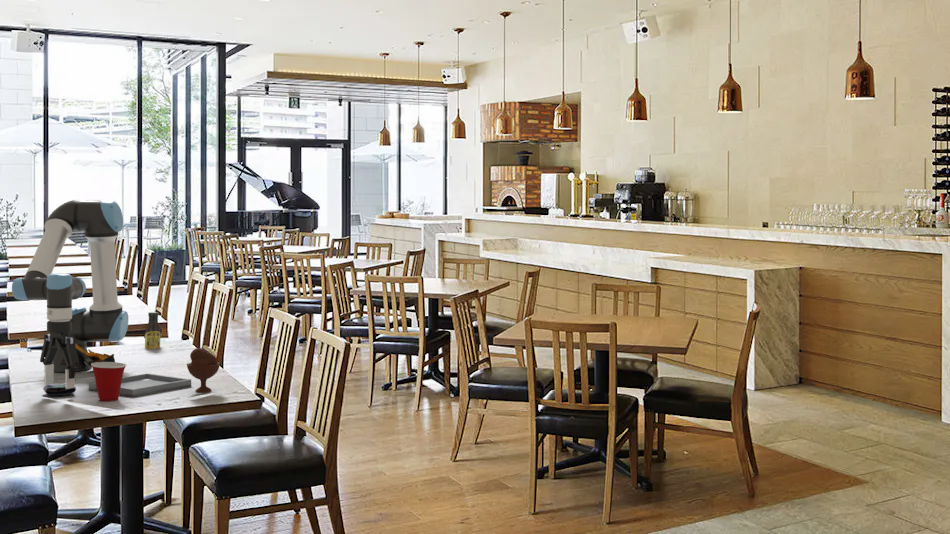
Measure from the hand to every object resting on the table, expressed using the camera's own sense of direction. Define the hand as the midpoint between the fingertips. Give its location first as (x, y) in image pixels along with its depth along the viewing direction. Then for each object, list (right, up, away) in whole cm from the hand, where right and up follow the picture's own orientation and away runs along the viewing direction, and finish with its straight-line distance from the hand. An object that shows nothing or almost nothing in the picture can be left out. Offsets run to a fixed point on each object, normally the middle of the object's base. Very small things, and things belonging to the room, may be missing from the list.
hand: (59, 386), depth 294 cm
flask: (+1, -4, -1) cm, 5 cm away
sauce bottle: (-1, 0, +87) cm, 87 cm away
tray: (+21, -3, +15) cm, 26 cm away
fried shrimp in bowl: (-1, -1, +41) cm, 42 cm away
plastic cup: (+19, -4, -6) cm, 20 cm away
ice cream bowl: (+45, -3, +10) cm, 46 cm away
